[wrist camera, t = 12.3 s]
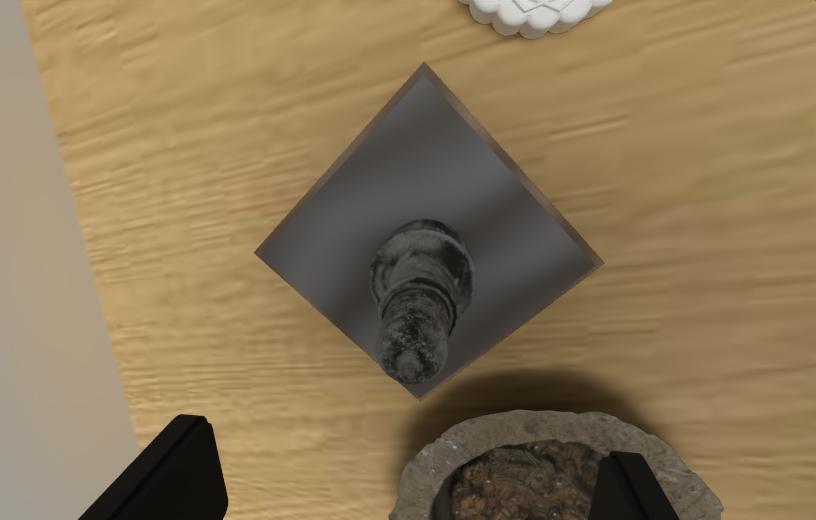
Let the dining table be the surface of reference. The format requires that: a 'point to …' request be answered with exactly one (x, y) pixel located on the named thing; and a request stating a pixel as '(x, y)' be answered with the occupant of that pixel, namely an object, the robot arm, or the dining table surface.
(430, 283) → the black chess piece
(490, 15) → the mooncake
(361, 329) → the walnut base
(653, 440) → the stone bowl
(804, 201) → the dining table surface
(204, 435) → the robot arm
